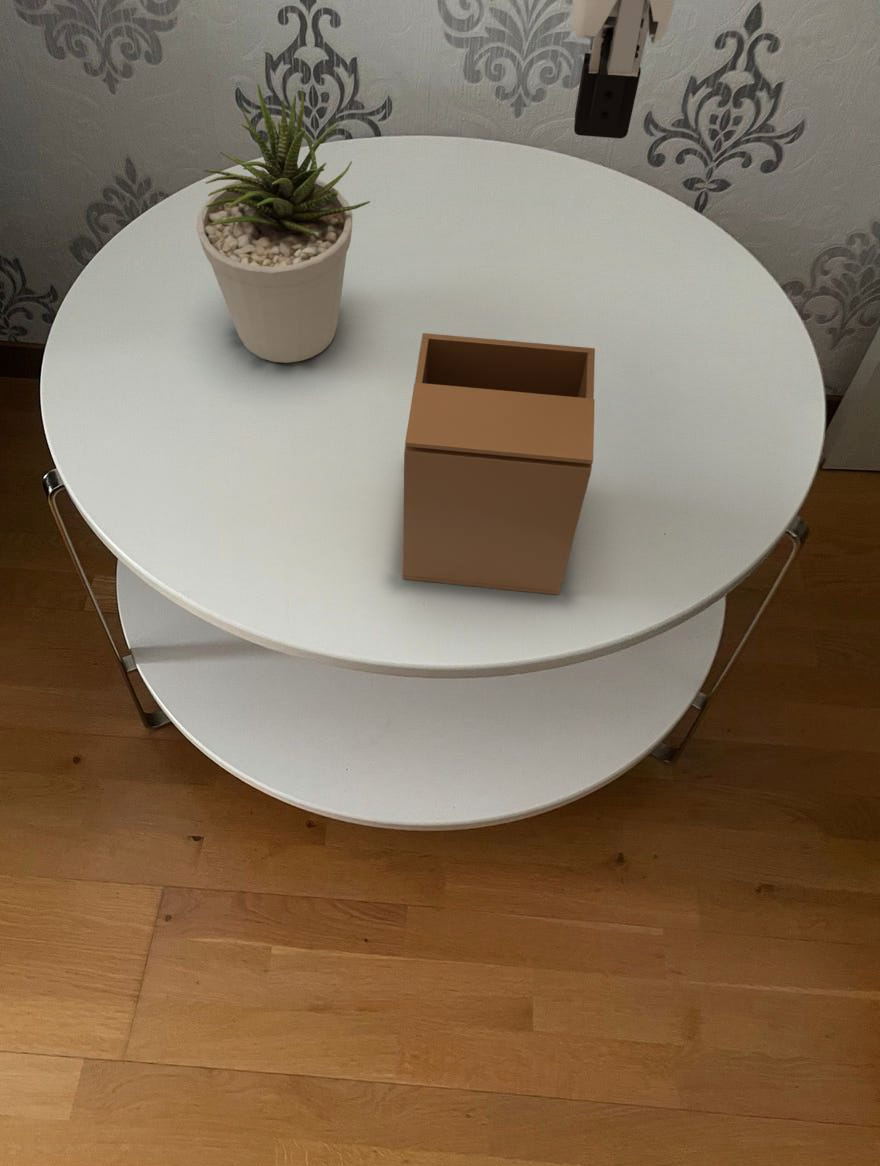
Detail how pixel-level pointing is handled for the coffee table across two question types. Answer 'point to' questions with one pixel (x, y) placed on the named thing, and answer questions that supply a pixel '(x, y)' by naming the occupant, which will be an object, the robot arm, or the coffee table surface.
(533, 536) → the carton
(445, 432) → the carton flap
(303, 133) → the potted plant
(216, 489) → the coffee table surface
